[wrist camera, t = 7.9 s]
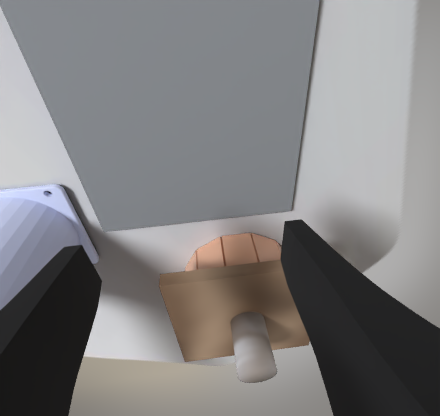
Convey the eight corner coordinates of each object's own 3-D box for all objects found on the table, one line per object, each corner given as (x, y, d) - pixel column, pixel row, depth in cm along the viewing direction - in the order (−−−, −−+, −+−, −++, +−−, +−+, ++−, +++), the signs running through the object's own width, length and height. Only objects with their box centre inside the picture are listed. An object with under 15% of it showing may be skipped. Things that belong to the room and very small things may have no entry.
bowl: (193, 305, 29) (194, 346, 26) (179, 241, 23) (177, 284, 19) (282, 293, 30) (295, 333, 26) (291, 227, 23) (310, 267, 20)
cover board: (185, 351, 26) (185, 413, 22) (160, 274, 19) (153, 347, 15) (304, 334, 26) (325, 392, 22) (326, 253, 19) (363, 319, 15)
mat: (105, 227, 21) (103, 232, 21) (-4, -19, 12) (-12, -19, 11) (289, 206, 22) (291, 210, 21) (320, -42, 13) (325, -44, 12)
